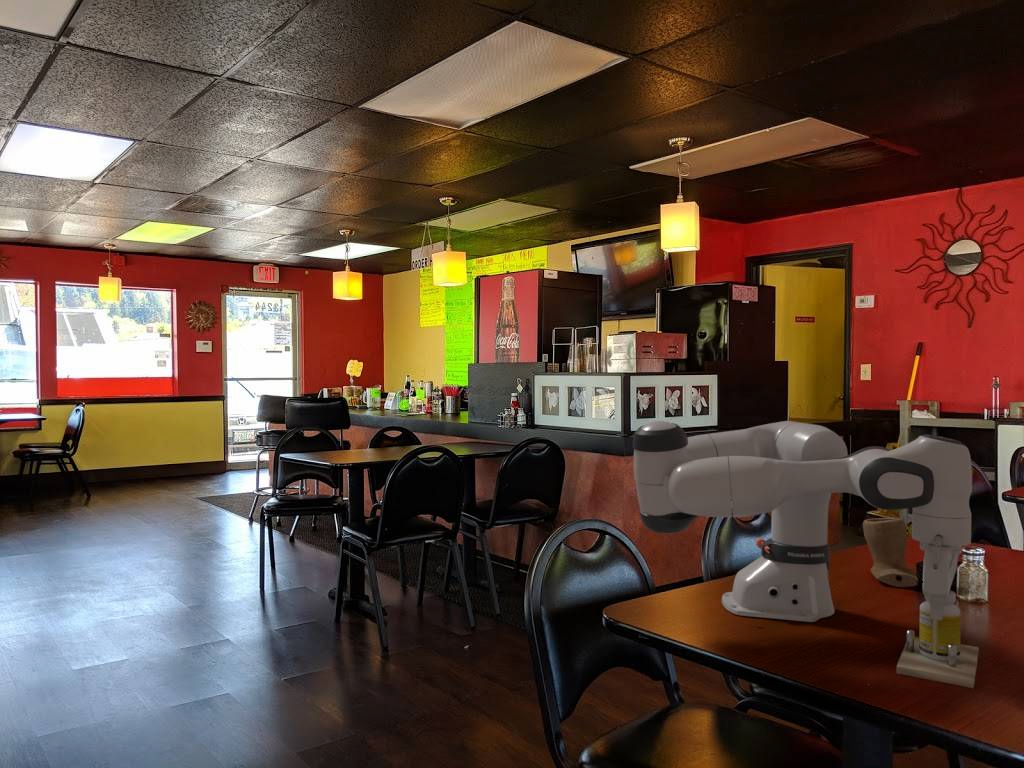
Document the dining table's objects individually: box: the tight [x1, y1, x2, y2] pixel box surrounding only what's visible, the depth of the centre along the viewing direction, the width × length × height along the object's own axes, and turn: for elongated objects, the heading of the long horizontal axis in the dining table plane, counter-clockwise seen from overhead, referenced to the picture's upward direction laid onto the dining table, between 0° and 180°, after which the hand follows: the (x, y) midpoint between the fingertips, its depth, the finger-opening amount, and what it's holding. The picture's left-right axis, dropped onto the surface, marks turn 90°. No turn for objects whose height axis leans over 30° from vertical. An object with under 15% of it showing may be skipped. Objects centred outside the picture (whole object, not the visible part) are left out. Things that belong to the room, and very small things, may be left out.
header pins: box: [905, 629, 957, 667], centre depth 135 cm, size 9×8×4 cm
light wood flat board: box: [895, 635, 979, 689], centre depth 134 cm, size 18×11×1 cm, turn 147°
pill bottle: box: [918, 590, 962, 661], centre depth 134 cm, size 6×6×11 cm
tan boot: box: [862, 516, 918, 588], centre depth 188 cm, size 15×12×15 cm
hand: (939, 611), depth 134 cm, fingers open, 8 cm apart
